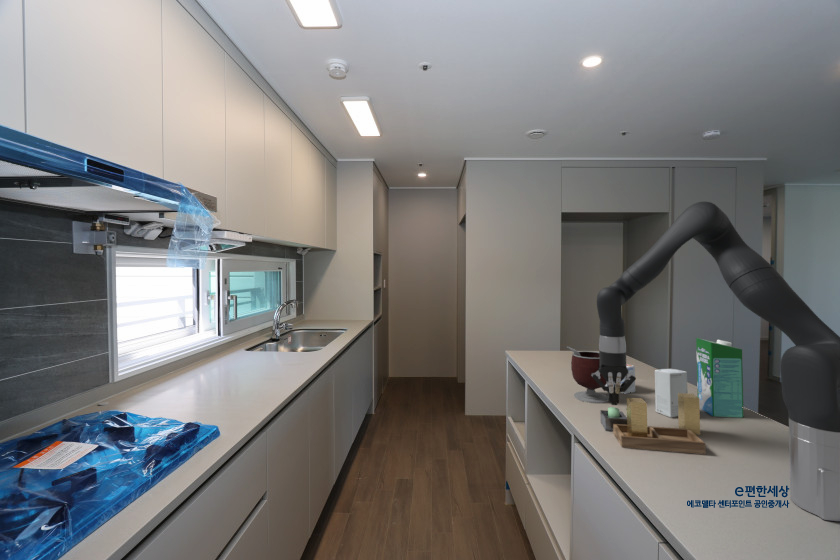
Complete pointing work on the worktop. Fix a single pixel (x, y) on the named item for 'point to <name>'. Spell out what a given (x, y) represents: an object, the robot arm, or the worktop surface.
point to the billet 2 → (689, 412)
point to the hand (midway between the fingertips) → (613, 404)
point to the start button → (613, 412)
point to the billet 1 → (636, 417)
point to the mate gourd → (587, 375)
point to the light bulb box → (630, 370)
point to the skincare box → (669, 390)
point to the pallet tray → (661, 439)
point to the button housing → (611, 420)
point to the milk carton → (719, 378)
